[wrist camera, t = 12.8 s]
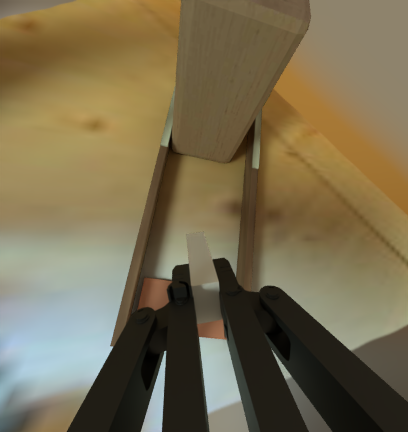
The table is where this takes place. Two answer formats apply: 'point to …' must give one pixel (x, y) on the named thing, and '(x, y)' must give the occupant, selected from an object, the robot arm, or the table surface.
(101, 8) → the table surface
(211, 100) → the wooden block
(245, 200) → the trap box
